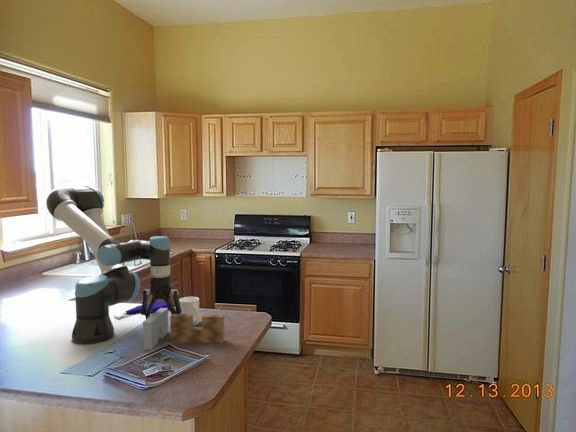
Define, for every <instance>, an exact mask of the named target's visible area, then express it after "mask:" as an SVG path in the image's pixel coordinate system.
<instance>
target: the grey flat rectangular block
mask: <svg viewBox="0 0 576 432" xmlns="http://www.w3.org/2000/svg"><path fill="white" fill-rule="evenodd" d="M150 315H151V316H150V317H149V318H148V319H146V318H145V320H144V321H143V322H142V332H143V333H142V337H143V339H142V340H143V341H142V342H143V343H142V345H143V350H153V349H154V348H155V347H156V346H157V345H158V344H159V339H164V337H165V336H167V334H168V333H169V310H168V308H160V309H159V310H158V311H156V312H155V313H153V314H150Z"/></svg>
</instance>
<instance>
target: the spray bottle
mask: <svg viewBox="0 0 576 432" xmlns="http://www.w3.org/2000/svg"><path fill="white" fill-rule="evenodd" d="M150 303H151V302H148V303H147V309H148V307H149V305H150ZM141 308H142V304H140V305H136V306H135V307H133V308H130V309H128V310H126V311H120V312H114V314H113V316H114V317H115V318H116V319H118V320H121V319H122V318H125V317H130V316H132V314H133V315H136V313H137V314H140V313H141ZM160 308H168V306H167V303H166V302H165V301H164V300H158V301H156V302H155V304H154V307H153V309H152V311H151V314H150V315H153V314H154V313H155V312H156V311H158V310H159V309H160ZM147 309H146V311H147ZM168 311H170V310H169V308H168ZM152 313H153V314H152Z"/></svg>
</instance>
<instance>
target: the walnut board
mask: <svg viewBox="0 0 576 432" xmlns="http://www.w3.org/2000/svg"><path fill="white" fill-rule="evenodd" d="M169 317H170V318H169V319H170V321H169V322H170V342H171V343H192V344H193V343H194V344H195V343H197V344H198V343H200V344H202V343H203V344H205V343H206V344H223V343H224V342H225V314H208V313H207V314H203V315H202V317H201V326H193V314H171V315H170V316H169Z"/></svg>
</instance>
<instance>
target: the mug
mask: <svg viewBox="0 0 576 432" xmlns="http://www.w3.org/2000/svg"><path fill="white" fill-rule="evenodd" d="M179 302H180V306H181V311H182V313H181V314H193V327H196V326H197V325H199V323H200V298H199V297H197V296H184V297H181V298H179Z"/></svg>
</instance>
